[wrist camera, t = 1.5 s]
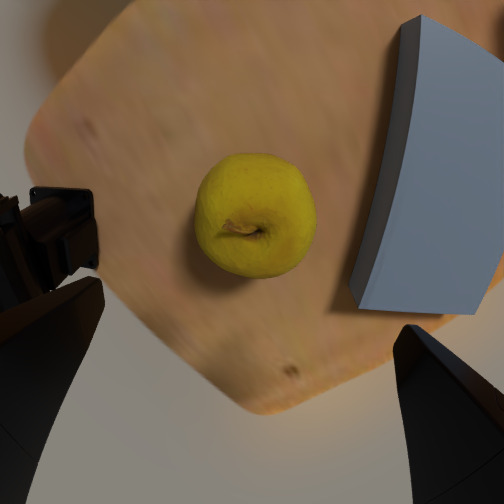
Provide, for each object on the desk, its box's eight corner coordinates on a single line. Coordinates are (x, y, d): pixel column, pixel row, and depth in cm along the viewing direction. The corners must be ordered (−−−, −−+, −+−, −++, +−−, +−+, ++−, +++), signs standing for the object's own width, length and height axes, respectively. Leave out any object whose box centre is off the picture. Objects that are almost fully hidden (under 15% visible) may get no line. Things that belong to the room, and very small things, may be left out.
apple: (200, 150, 18) (161, 176, 11) (302, 141, 18) (330, 160, 10) (214, 241, 21) (191, 312, 14) (306, 235, 20) (328, 303, 13)
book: (348, 285, 22) (358, 308, 19) (401, 24, 13) (421, 14, 11) (458, 296, 22) (474, 314, 20) (514, 87, 14) (537, 90, 11)
